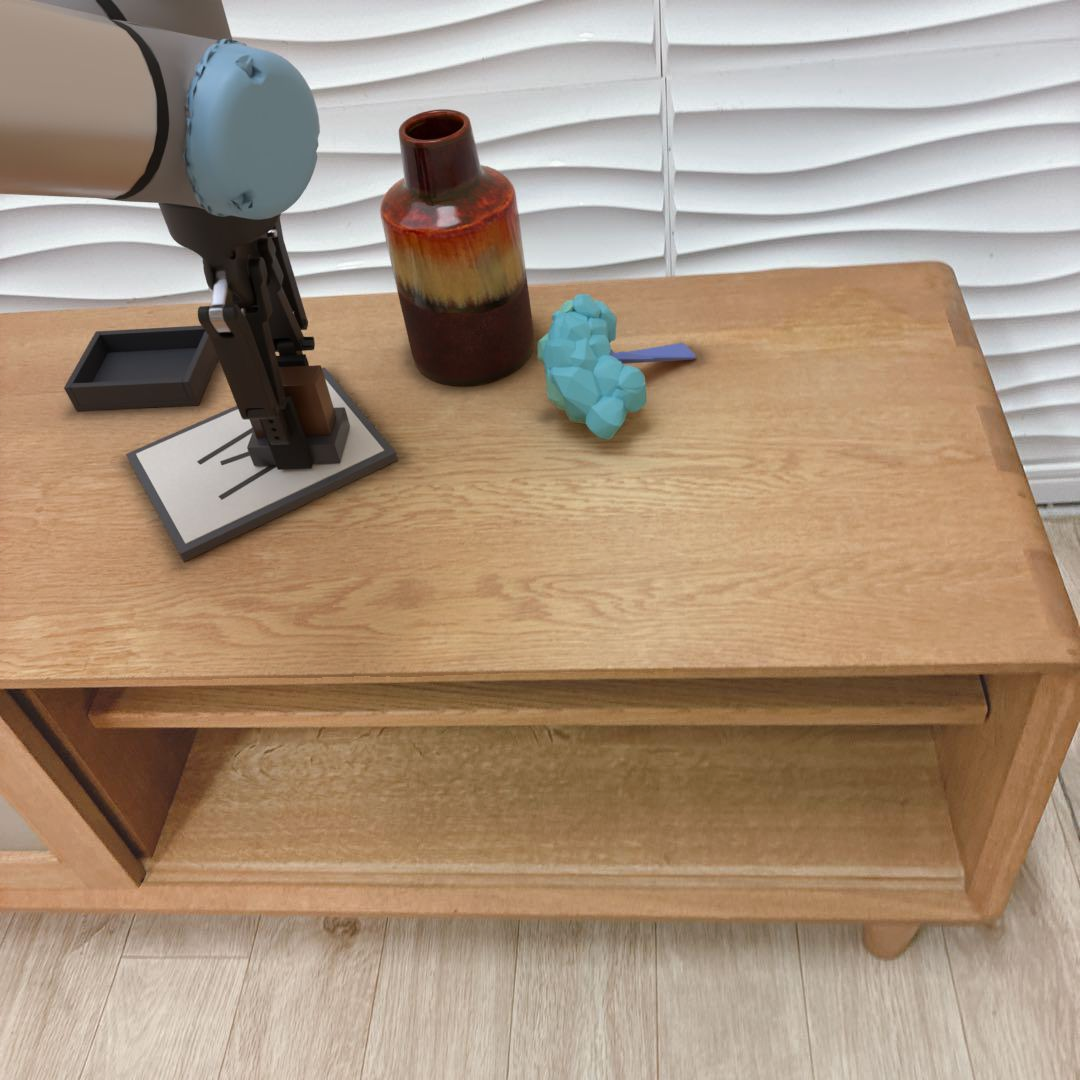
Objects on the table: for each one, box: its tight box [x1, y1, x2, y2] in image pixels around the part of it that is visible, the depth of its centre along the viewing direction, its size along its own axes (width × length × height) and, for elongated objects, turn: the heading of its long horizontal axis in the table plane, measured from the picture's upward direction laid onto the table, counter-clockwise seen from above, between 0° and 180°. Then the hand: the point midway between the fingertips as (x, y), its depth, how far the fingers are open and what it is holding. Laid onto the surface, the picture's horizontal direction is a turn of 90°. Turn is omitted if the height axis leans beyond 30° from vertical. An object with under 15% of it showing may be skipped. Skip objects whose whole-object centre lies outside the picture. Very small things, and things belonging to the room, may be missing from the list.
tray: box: [63, 324, 219, 412], centre depth 95 cm, size 11×8×3 cm
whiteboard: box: [125, 367, 399, 562], centre depth 87 cm, size 18×14×1 cm
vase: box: [379, 108, 535, 387], centre depth 87 cm, size 11×11×20 cm
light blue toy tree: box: [537, 292, 696, 440], centre depth 87 cm, size 11×9×15 cm
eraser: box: [247, 364, 350, 466], centre depth 83 cm, size 7×4×7 cm, turn 87°
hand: (302, 443), depth 86 cm, fingers closed on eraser, 4 cm apart
